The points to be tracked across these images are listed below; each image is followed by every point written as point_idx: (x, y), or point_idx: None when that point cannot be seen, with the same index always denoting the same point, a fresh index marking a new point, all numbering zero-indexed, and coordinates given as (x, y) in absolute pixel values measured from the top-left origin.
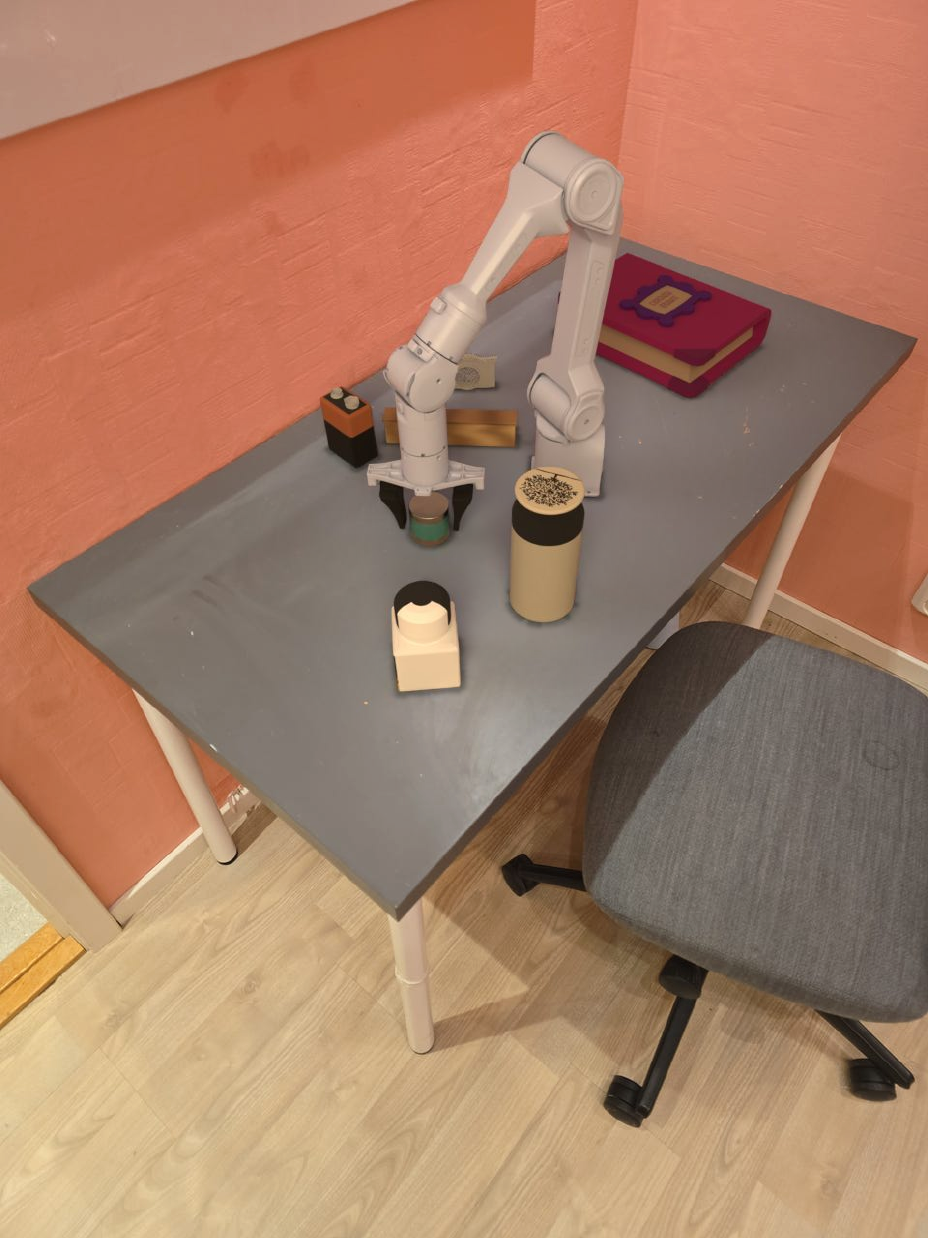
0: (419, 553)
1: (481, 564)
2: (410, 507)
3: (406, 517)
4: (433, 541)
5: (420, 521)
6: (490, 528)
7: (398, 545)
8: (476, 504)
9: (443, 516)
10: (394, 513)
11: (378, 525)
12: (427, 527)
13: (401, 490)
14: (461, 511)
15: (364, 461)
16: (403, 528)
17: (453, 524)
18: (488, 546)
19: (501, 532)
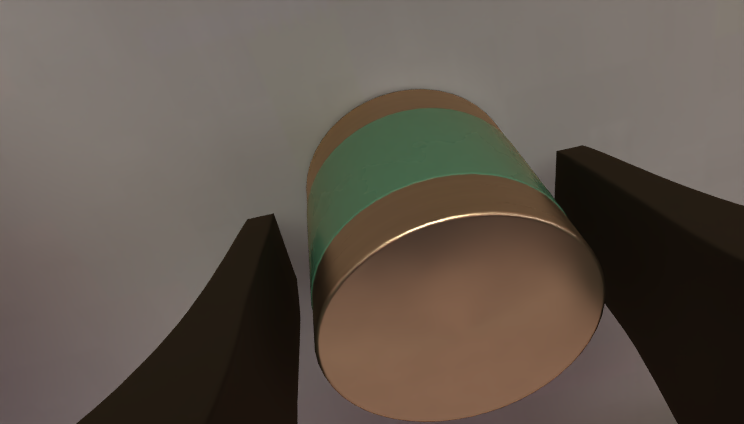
0: (433, 22)
1: (11, 32)
2: (590, 279)
3: None
4: (369, 116)
5: (489, 188)
6: (126, 287)
7: (565, 52)
8: None
9: (325, 275)
10: (705, 199)
11: (674, 159)
12: (423, 165)
13: (715, 396)
14: (167, 354)
15: None
16: (568, 150)
17: (261, 243)
18: (64, 181)
19: (58, 281)
